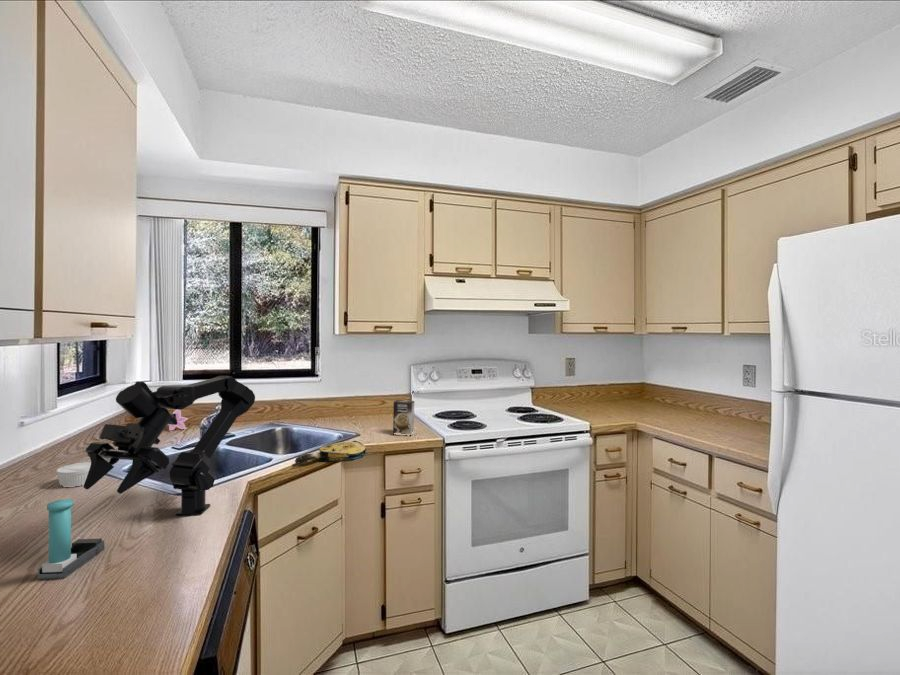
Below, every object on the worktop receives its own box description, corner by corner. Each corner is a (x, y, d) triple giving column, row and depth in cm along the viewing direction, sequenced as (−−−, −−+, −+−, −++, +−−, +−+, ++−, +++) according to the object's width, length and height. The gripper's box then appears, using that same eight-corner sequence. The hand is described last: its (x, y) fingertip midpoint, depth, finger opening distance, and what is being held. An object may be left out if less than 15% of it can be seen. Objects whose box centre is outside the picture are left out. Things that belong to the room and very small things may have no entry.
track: (80, 550, 101) (80, 537, 101) (104, 549, 102) (104, 536, 102) (37, 579, 89) (37, 565, 89) (64, 578, 90) (64, 564, 90)
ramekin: (49, 491, 138) (49, 473, 138) (64, 479, 148) (65, 463, 148) (95, 487, 142) (95, 469, 142) (106, 476, 152) (106, 460, 152)
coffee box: (392, 435, 218) (392, 401, 218) (395, 432, 224) (396, 399, 224) (411, 436, 217) (411, 402, 217) (414, 433, 223) (414, 400, 223)
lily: (154, 434, 217) (160, 418, 215) (159, 421, 227) (165, 404, 225) (182, 440, 223) (188, 424, 221) (185, 426, 233) (192, 410, 231)
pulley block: (288, 444, 172) (359, 434, 191) (287, 459, 173) (358, 448, 192) (303, 458, 161) (377, 446, 181) (301, 474, 162) (375, 460, 181)
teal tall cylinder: (56, 562, 93) (56, 499, 93) (77, 561, 94) (78, 499, 94) (41, 572, 89) (41, 506, 89) (63, 571, 90) (63, 506, 90)
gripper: (94, 407, 107) (40, 467, 96) (159, 411, 102) (110, 475, 92) (125, 434, 114) (78, 493, 104) (187, 439, 110) (145, 501, 99)
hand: (101, 490), depth 99 cm, fingers open, 9 cm apart
